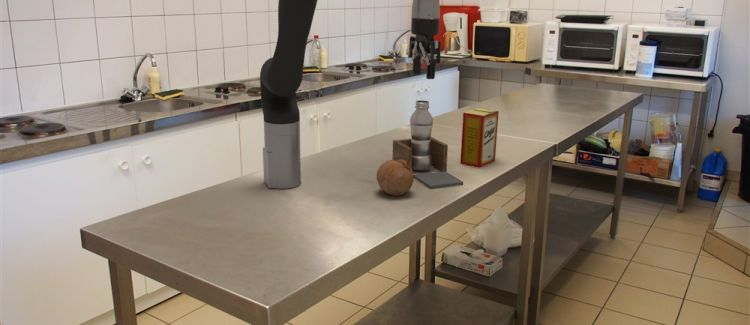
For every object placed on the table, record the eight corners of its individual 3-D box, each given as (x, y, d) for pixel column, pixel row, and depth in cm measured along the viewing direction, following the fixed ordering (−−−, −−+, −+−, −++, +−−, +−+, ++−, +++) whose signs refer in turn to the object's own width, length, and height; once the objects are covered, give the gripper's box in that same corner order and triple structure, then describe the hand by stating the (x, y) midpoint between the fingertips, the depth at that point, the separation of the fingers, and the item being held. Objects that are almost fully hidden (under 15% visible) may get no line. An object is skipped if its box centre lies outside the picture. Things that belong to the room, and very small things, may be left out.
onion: (408, 203, 161) (426, 170, 158) (391, 204, 153) (410, 169, 150) (380, 183, 165) (398, 151, 163) (363, 183, 157) (381, 149, 154)
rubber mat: (430, 188, 163) (430, 185, 162) (413, 177, 171) (413, 175, 171) (463, 184, 166) (463, 181, 166) (445, 174, 175) (445, 171, 175)
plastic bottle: (430, 174, 175) (433, 104, 169) (406, 172, 176) (408, 103, 171) (432, 167, 181) (435, 100, 175) (409, 165, 182) (412, 98, 177)
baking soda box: (479, 168, 181) (483, 114, 177) (460, 163, 185) (463, 111, 181) (494, 161, 189) (498, 109, 184) (476, 157, 192) (479, 106, 188)
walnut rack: (407, 176, 172) (408, 148, 170) (392, 166, 181) (392, 140, 179) (446, 172, 177) (447, 145, 175) (429, 162, 186) (431, 136, 184)
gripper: (401, 15, 171) (400, 73, 176) (425, 18, 159) (422, 81, 163) (426, 14, 174) (423, 72, 179) (450, 18, 161) (447, 80, 166)
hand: (423, 76), depth 171 cm, fingers open, 8 cm apart
